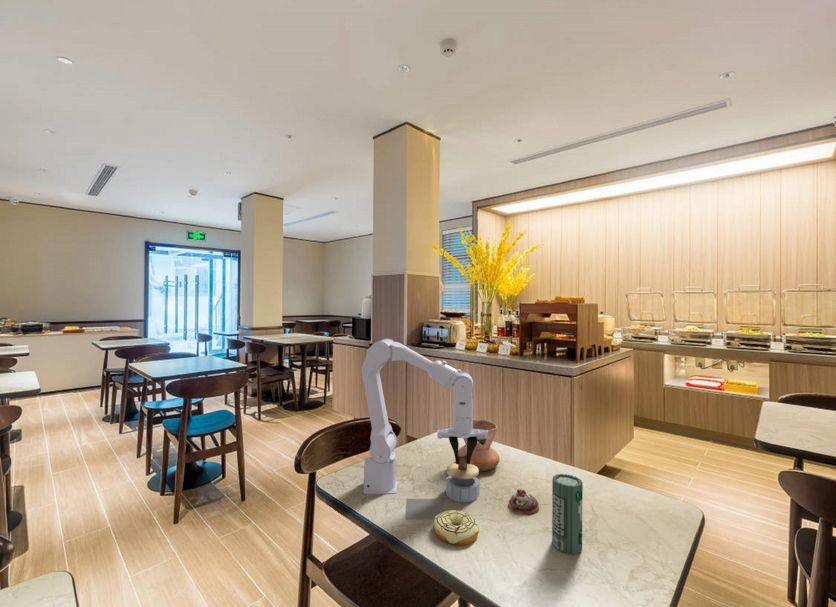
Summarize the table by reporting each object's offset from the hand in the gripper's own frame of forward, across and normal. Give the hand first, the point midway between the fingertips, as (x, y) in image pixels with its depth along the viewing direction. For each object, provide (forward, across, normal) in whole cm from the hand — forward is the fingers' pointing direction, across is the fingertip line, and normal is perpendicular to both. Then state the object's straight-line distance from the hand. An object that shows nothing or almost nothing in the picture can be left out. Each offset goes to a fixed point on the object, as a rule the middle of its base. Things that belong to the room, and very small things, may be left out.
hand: (462, 462), depth 110 cm
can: (+9, +21, -23) cm, 32 cm away
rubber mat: (+9, -11, -8) cm, 16 cm away
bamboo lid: (+2, 0, 0) cm, 3 cm away
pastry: (+10, +16, -6) cm, 20 cm away
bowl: (+9, 0, 0) cm, 9 cm away
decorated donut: (+10, -4, -18) cm, 21 cm away
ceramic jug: (+10, +8, +20) cm, 24 cm away
